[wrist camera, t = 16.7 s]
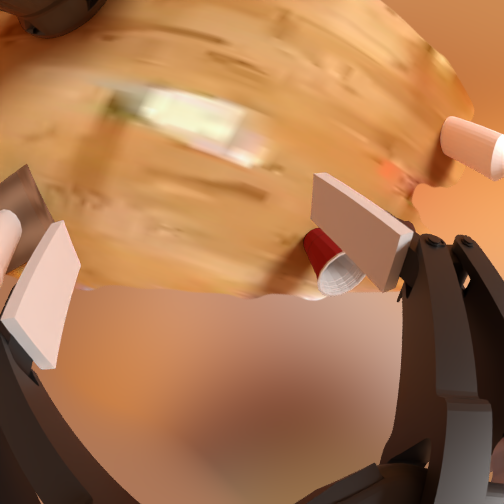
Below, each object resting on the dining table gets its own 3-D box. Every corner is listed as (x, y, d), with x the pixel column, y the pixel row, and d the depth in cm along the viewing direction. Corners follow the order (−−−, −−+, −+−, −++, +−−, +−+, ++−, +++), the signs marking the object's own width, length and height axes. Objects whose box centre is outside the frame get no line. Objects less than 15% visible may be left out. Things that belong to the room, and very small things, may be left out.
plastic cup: (280, 249, 53) (307, 288, 44) (315, 207, 50) (351, 239, 41) (313, 269, 59) (340, 305, 50) (345, 232, 56) (378, 263, 47)
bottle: (461, 113, 47) (537, 146, 28) (460, 153, 55) (529, 191, 35) (439, 116, 46) (525, 153, 27) (439, 160, 54) (516, 204, 34)
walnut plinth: (-21, 200, 27) (-32, 210, 24) (27, 163, 29) (16, 171, 26) (13, 261, 36) (5, 274, 33) (61, 234, 37) (55, 247, 34)
